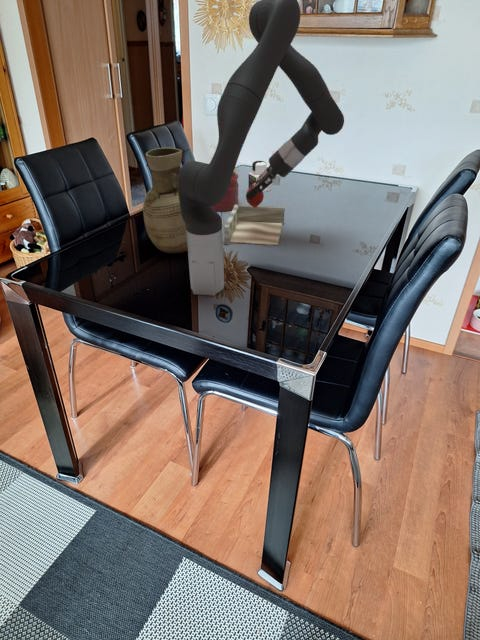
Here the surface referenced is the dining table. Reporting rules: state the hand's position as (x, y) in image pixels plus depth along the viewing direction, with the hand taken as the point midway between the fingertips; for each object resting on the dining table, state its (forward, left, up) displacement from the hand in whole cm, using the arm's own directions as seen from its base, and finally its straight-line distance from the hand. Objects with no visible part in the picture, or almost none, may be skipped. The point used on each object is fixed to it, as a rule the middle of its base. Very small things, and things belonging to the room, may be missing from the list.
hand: (249, 194), depth 142 cm
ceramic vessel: (-13, +22, -14) cm, 29 cm away
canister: (+26, +14, -14) cm, 33 cm away
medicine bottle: (+48, +2, -14) cm, 50 cm away
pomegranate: (0, -2, -4) cm, 5 cm away
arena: (+1, -2, -14) cm, 14 cm away
